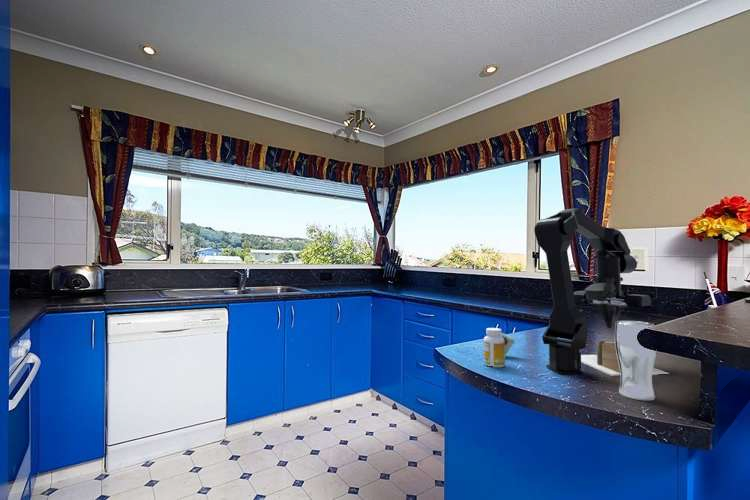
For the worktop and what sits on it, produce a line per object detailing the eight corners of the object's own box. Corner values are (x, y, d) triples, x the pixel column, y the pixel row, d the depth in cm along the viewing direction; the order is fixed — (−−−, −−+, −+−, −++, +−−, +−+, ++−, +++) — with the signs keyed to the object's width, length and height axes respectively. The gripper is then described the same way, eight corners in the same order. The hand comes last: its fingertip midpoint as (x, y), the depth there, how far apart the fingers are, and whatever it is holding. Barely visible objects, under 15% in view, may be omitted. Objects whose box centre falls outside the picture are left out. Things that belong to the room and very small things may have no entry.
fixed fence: (627, 378, 84) (626, 350, 84) (595, 365, 95) (595, 340, 95) (634, 378, 84) (633, 350, 84) (602, 365, 95) (601, 340, 95)
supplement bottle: (506, 364, 96) (506, 328, 97) (502, 369, 92) (501, 331, 92) (487, 361, 99) (486, 326, 100) (481, 365, 95) (481, 329, 95)
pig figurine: (514, 354, 106) (514, 332, 107) (518, 358, 102) (517, 334, 103) (487, 353, 107) (486, 331, 108) (489, 357, 103) (489, 334, 104)
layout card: (612, 375, 86) (612, 373, 86) (568, 356, 104) (568, 354, 104) (668, 374, 87) (668, 372, 87) (615, 355, 105) (615, 354, 105)
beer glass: (608, 389, 77) (606, 320, 77) (638, 388, 77) (635, 320, 78) (634, 402, 70) (632, 326, 70) (667, 401, 70) (664, 325, 71)
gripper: (560, 273, 106) (562, 325, 106) (629, 275, 90) (631, 337, 89) (582, 273, 112) (583, 322, 111) (651, 274, 95) (653, 332, 95)
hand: (610, 328), depth 101 cm, fingers closed
